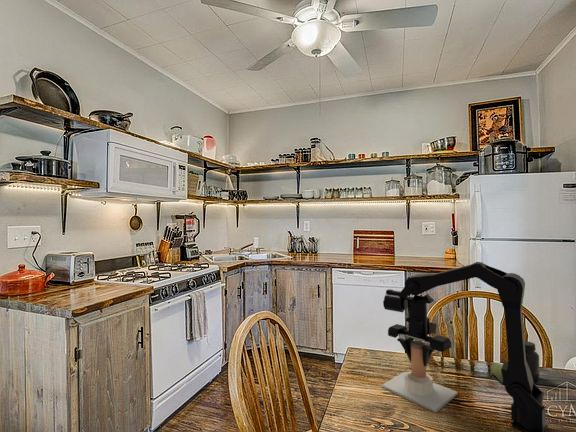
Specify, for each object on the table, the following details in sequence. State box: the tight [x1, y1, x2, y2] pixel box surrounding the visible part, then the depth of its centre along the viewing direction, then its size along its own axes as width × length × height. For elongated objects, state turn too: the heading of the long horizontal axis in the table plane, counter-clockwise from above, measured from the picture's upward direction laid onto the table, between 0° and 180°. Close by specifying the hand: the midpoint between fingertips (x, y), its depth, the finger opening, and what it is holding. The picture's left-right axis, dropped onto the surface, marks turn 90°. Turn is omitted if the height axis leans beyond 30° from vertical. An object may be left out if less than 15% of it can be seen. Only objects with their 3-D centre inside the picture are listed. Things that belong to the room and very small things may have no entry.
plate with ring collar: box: [381, 371, 458, 413], centre depth 103 cm, size 18×14×4 cm
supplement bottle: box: [524, 340, 541, 384], centre depth 110 cm, size 7×7×12 cm
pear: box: [490, 363, 503, 383], centre depth 110 cm, size 6×5×10 cm
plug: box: [410, 340, 427, 378], centre depth 103 cm, size 4×4×10 cm
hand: (418, 363), depth 103 cm, fingers closed on plug, 4 cm apart
